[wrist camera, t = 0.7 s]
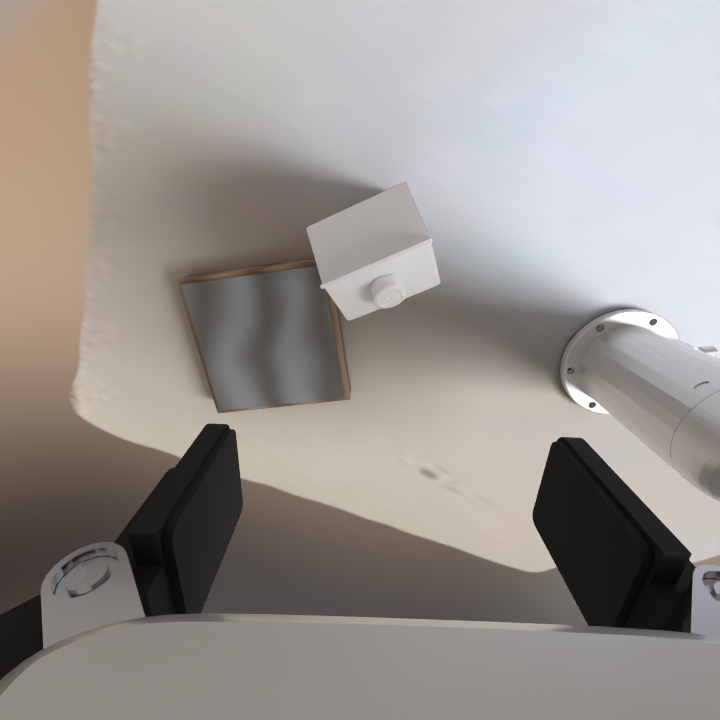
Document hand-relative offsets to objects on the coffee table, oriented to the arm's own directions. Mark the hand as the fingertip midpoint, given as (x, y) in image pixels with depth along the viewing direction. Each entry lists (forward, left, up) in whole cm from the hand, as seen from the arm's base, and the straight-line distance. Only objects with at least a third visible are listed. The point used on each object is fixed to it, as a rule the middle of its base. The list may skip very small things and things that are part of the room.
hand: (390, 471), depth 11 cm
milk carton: (0, -4, -33) cm, 33 cm away
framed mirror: (+13, +5, -32) cm, 35 cm away
